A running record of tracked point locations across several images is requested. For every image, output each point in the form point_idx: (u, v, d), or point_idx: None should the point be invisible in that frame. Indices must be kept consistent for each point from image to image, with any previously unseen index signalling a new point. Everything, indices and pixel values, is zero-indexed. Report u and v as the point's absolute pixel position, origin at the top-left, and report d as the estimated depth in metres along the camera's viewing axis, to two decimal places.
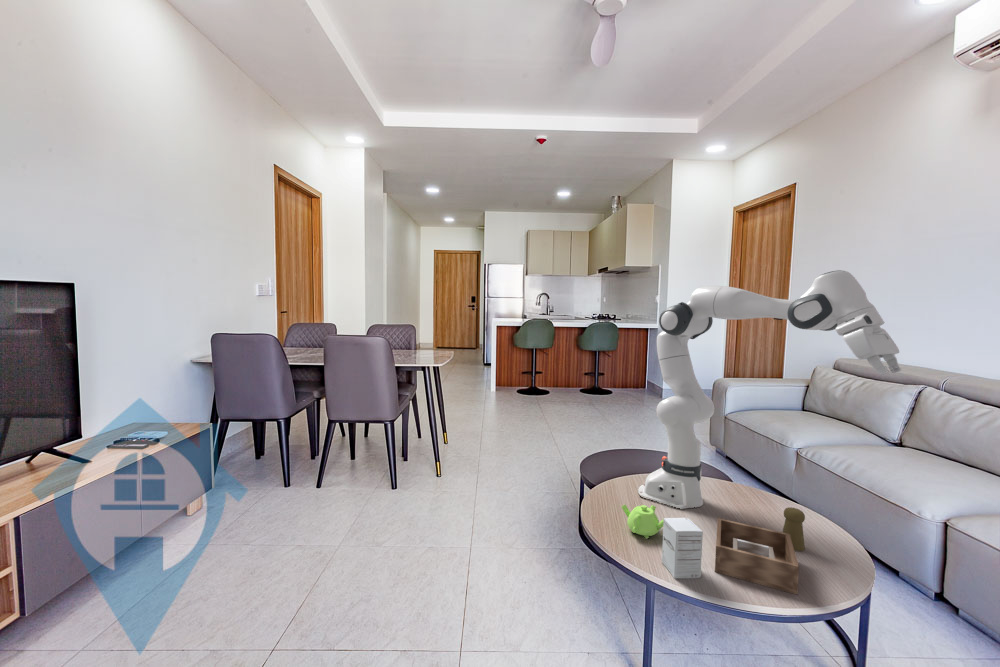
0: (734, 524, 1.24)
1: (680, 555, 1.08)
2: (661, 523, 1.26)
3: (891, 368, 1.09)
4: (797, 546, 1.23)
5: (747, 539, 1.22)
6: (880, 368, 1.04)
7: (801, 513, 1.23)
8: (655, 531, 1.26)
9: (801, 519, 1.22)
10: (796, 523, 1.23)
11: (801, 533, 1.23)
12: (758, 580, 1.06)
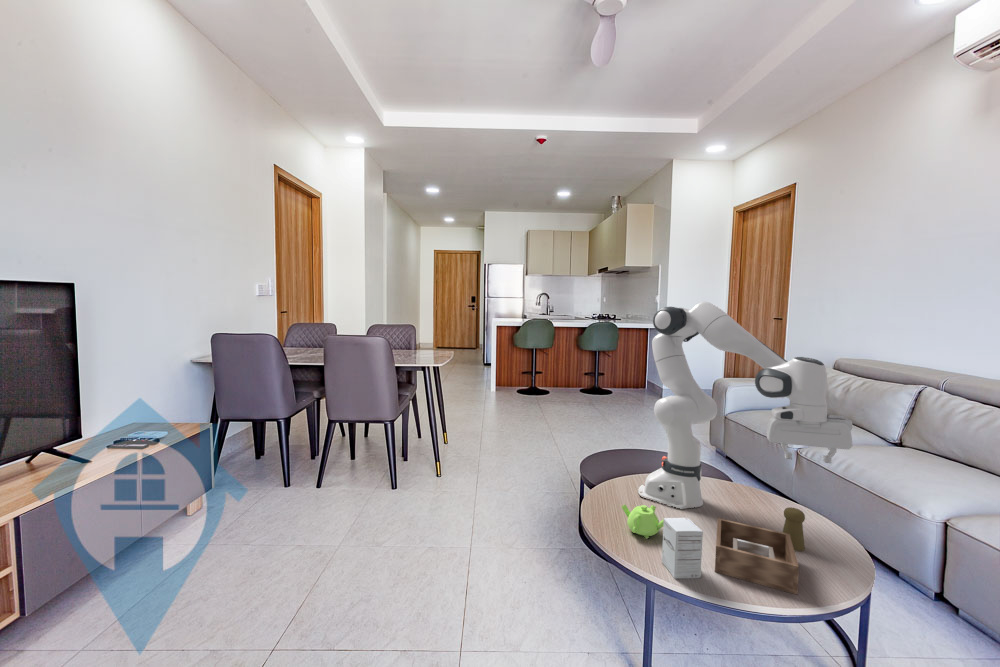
0: (734, 524, 1.24)
1: (680, 555, 1.08)
2: (661, 523, 1.26)
3: (824, 457, 1.21)
4: (797, 546, 1.23)
5: (747, 539, 1.22)
6: (785, 453, 1.24)
7: (801, 513, 1.23)
8: (655, 531, 1.26)
9: (801, 519, 1.22)
10: (796, 523, 1.23)
11: (801, 533, 1.23)
12: (758, 580, 1.06)
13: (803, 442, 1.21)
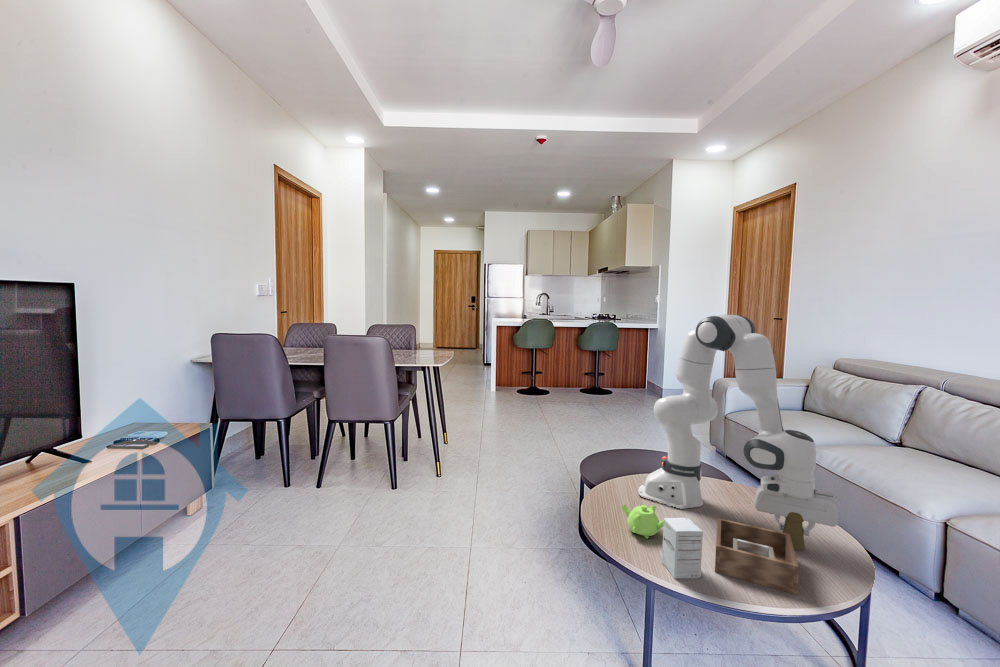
0: (734, 524, 1.24)
1: (680, 555, 1.08)
2: (661, 523, 1.26)
3: (803, 529, 1.24)
4: (797, 546, 1.23)
5: (747, 539, 1.22)
6: (778, 523, 1.27)
7: None
8: (655, 531, 1.26)
9: (801, 519, 1.22)
10: (796, 523, 1.23)
11: (801, 533, 1.23)
12: (758, 580, 1.06)
13: None
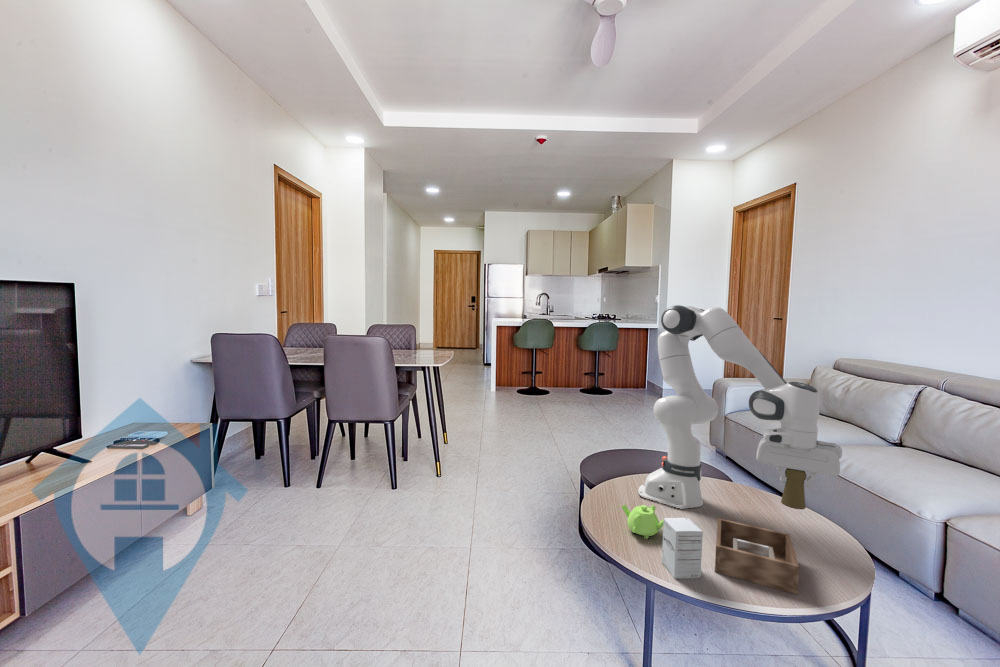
0: (734, 524, 1.24)
1: (680, 555, 1.08)
2: (661, 523, 1.26)
3: None
4: (799, 505, 1.22)
5: (747, 539, 1.22)
6: (780, 476, 1.26)
7: (803, 472, 1.23)
8: (655, 531, 1.26)
9: (803, 478, 1.22)
10: (798, 482, 1.23)
11: (802, 491, 1.23)
12: (758, 580, 1.06)
13: (790, 465, 1.24)
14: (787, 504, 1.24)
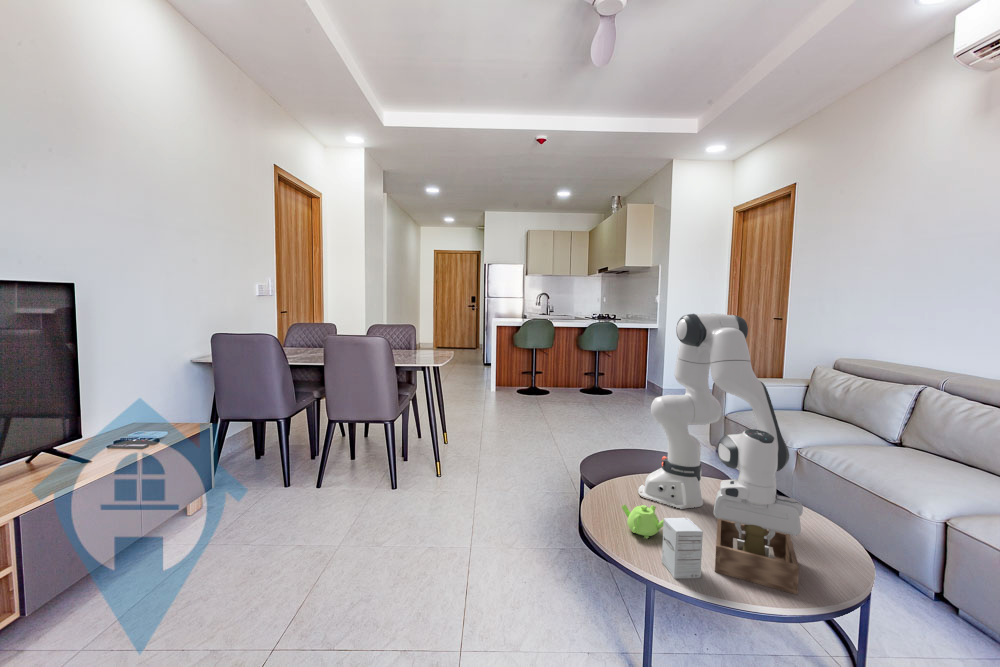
0: (734, 524, 1.24)
1: (680, 555, 1.08)
2: (661, 523, 1.26)
3: None
4: None
5: None
6: (739, 532, 1.16)
7: None
8: (655, 531, 1.26)
9: (763, 533, 1.12)
10: (757, 538, 1.12)
11: (763, 548, 1.12)
12: (758, 580, 1.06)
13: (749, 522, 1.13)
14: None
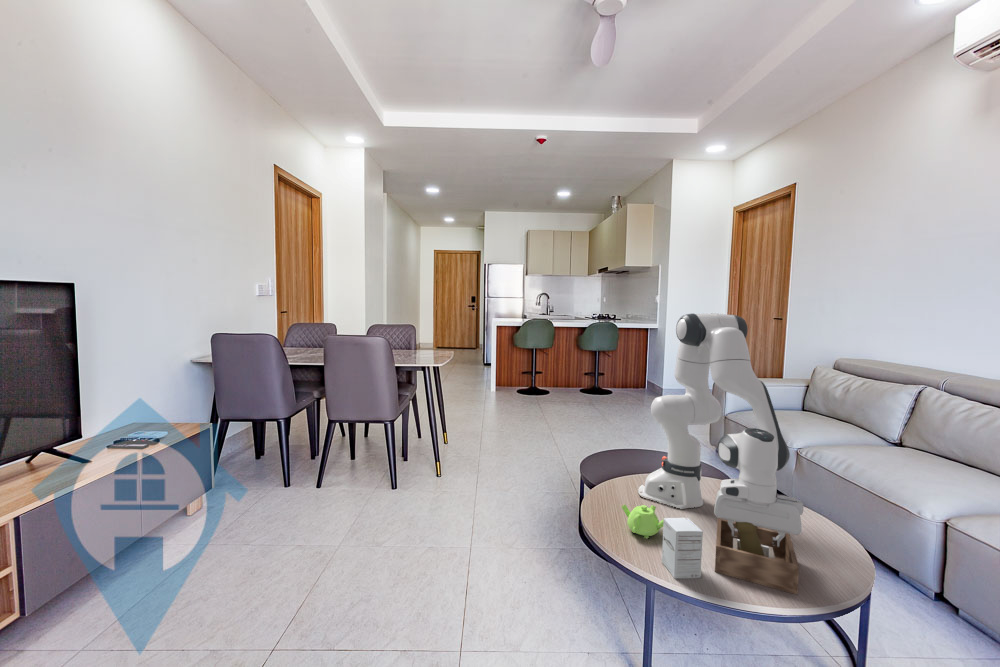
0: (734, 524, 1.24)
1: (680, 555, 1.08)
2: (661, 523, 1.26)
3: (772, 539, 1.13)
4: None
5: None
6: None
7: None
8: (655, 531, 1.26)
9: (753, 529, 1.12)
10: (750, 534, 1.13)
11: (758, 544, 1.13)
12: (758, 580, 1.06)
13: (749, 521, 1.13)
14: None
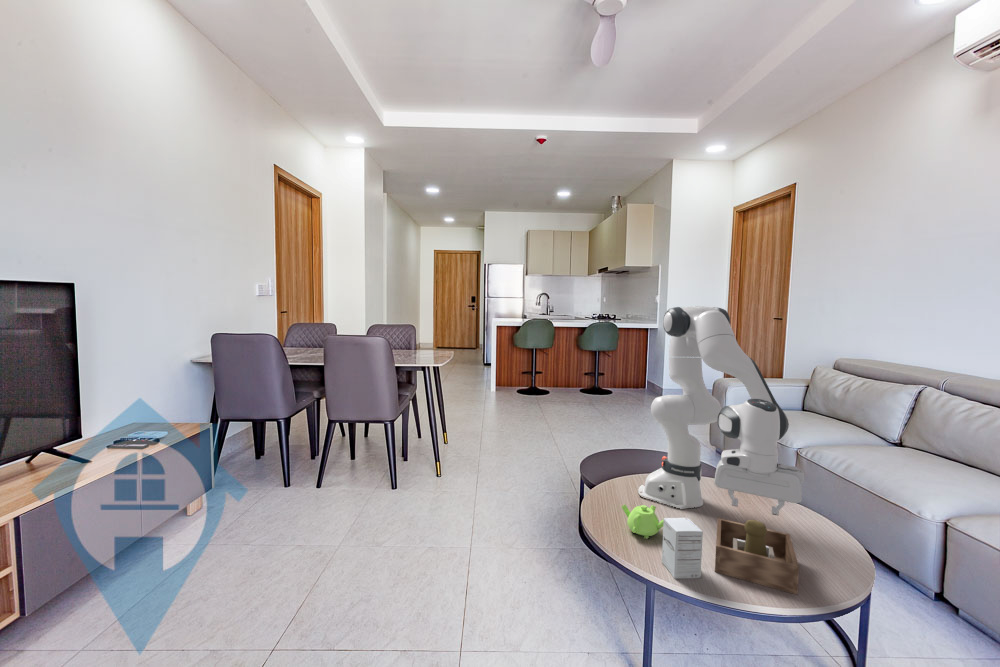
0: (734, 524, 1.24)
1: (680, 555, 1.08)
2: (661, 523, 1.26)
3: (772, 508, 1.13)
4: None
5: None
6: (732, 499, 1.17)
7: (763, 526, 1.12)
8: (655, 531, 1.26)
9: (763, 533, 1.11)
10: (758, 538, 1.12)
11: (764, 548, 1.12)
12: (758, 580, 1.06)
13: (749, 491, 1.13)
14: None
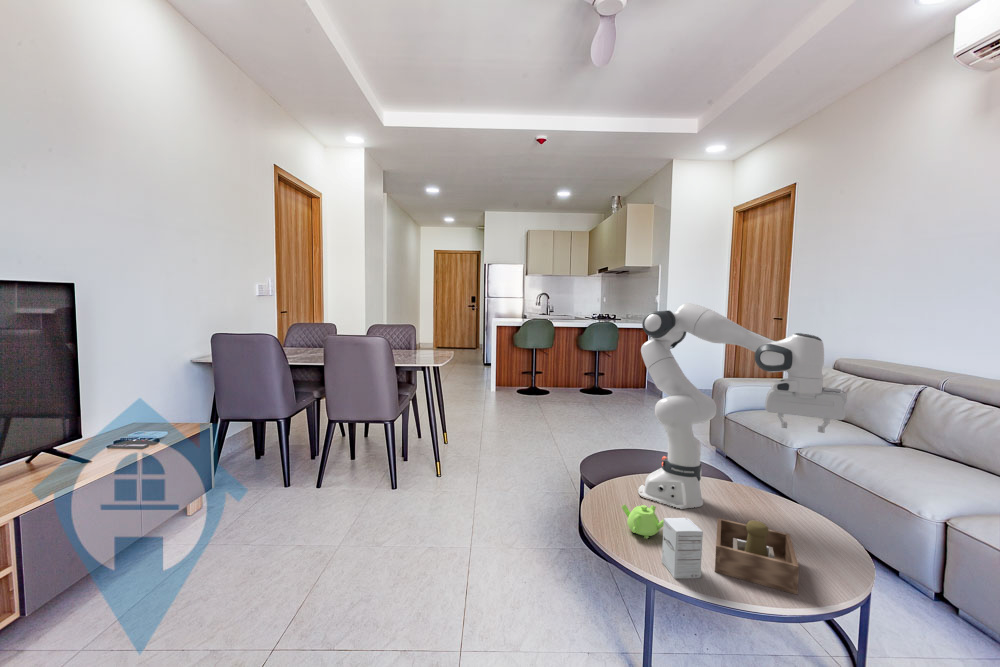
0: (734, 524, 1.24)
1: (680, 555, 1.08)
2: (661, 523, 1.26)
3: (818, 427, 1.29)
4: None
5: None
6: (781, 422, 1.33)
7: (765, 527, 1.12)
8: (655, 531, 1.26)
9: (765, 534, 1.11)
10: (759, 538, 1.12)
11: (765, 549, 1.12)
12: (758, 580, 1.06)
13: (798, 412, 1.30)
14: None
